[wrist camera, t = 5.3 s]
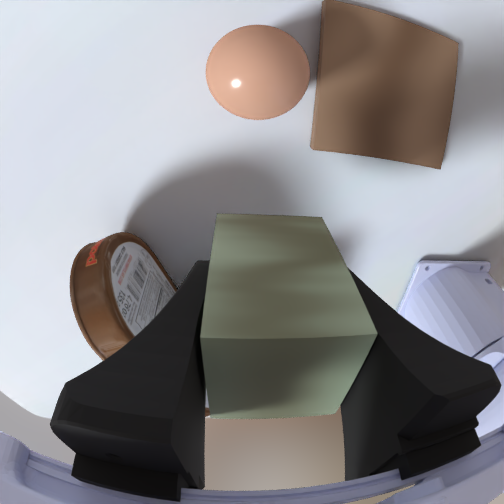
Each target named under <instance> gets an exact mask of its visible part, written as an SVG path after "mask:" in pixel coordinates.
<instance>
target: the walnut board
mask: <svg viewBox="0 0 504 504" xmlns="http://www.w3.org/2000/svg"><path fill="white" fill-rule="evenodd" d="M457 60H458V43H457V42H455V41H453V40H451V39H449V38H447V37H445V36H442V35H440V34H438V33H436V32H433V31H431V30H429V29H426V28H424V27H421V26H419V25H416V24H413V23H411V22H408V21H405V20H403V19H400V18H397V17H394V16H391V15H388V14H385V13H381V12H378V11H375V10H371V9H368V8H364V7H360V6H356V5H352V4H348V3H344V2H339V1H335V0H324V1H323V2H322V13H321V30H320V45H319V59H318V71H317V83H316V94H315V105H314V115H313V125H312V134H311V143H310V147H311V148H312V149H313V150H319V151H328V152H337V153H346V154H353V155H361V156H368V157H375V158H381V159H387V160H393V161H399V162H405V163H410V164H416V165H421V166H426V167H431V168H435V169H441V165H442V161H443V156H444V152H445V147H446V142H447V137H448V131H449V126H450V120H451V113H452V107H453V100H454V92H455V83H456V73H457Z"/></svg>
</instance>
